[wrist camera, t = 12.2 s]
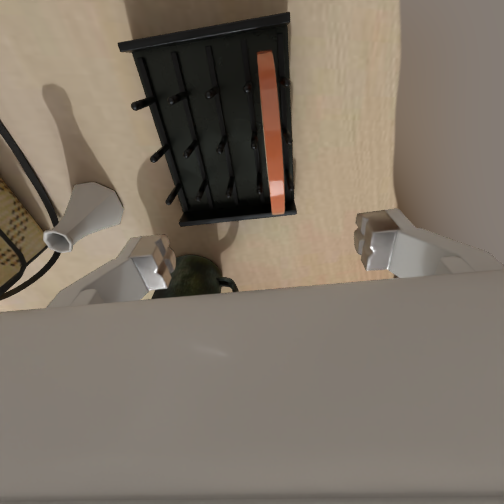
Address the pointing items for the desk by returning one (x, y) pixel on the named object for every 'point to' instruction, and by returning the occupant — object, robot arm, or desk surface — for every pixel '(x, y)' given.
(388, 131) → the desk surface
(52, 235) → the flask
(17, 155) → the clutch purse
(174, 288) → the mug
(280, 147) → the plate
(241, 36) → the rack
